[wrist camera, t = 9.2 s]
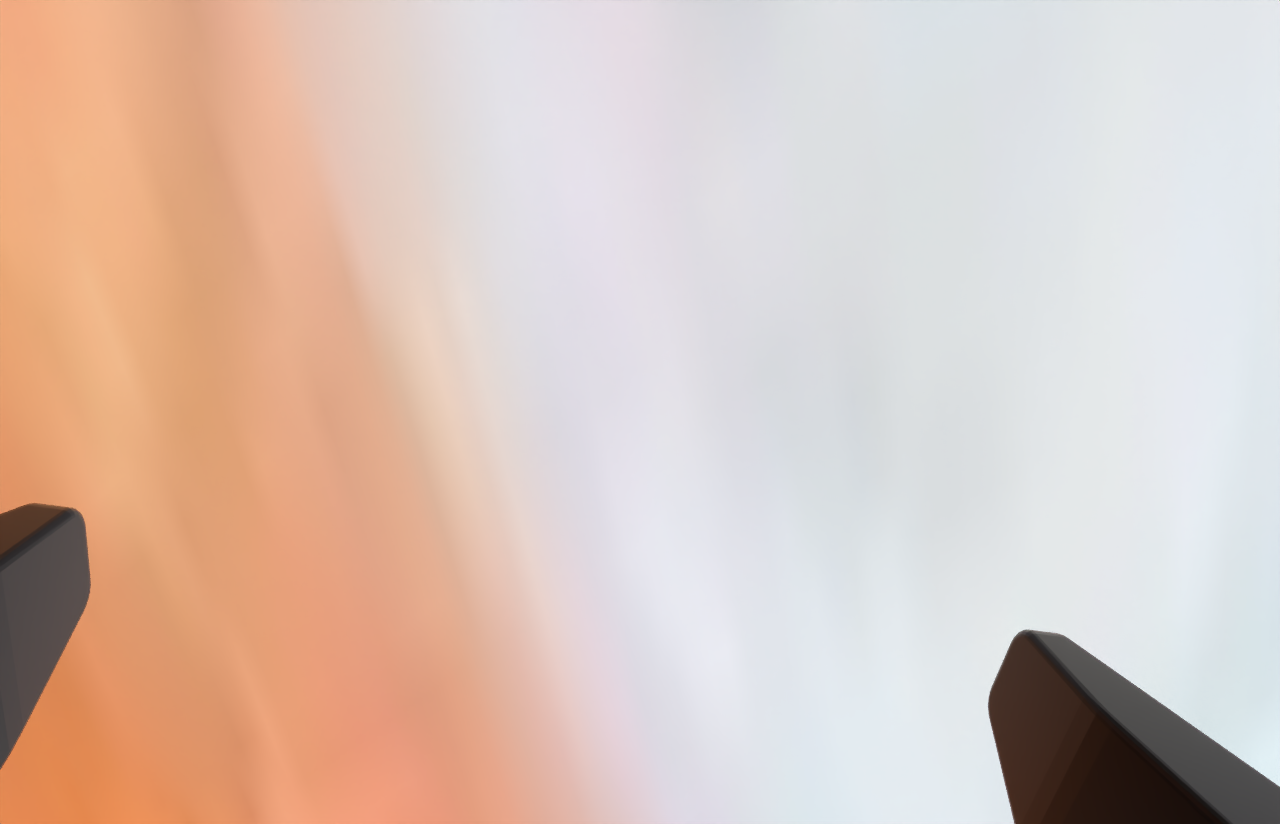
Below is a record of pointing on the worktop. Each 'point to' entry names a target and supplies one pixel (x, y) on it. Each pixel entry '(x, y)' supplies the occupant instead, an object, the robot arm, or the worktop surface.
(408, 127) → the worktop surface
